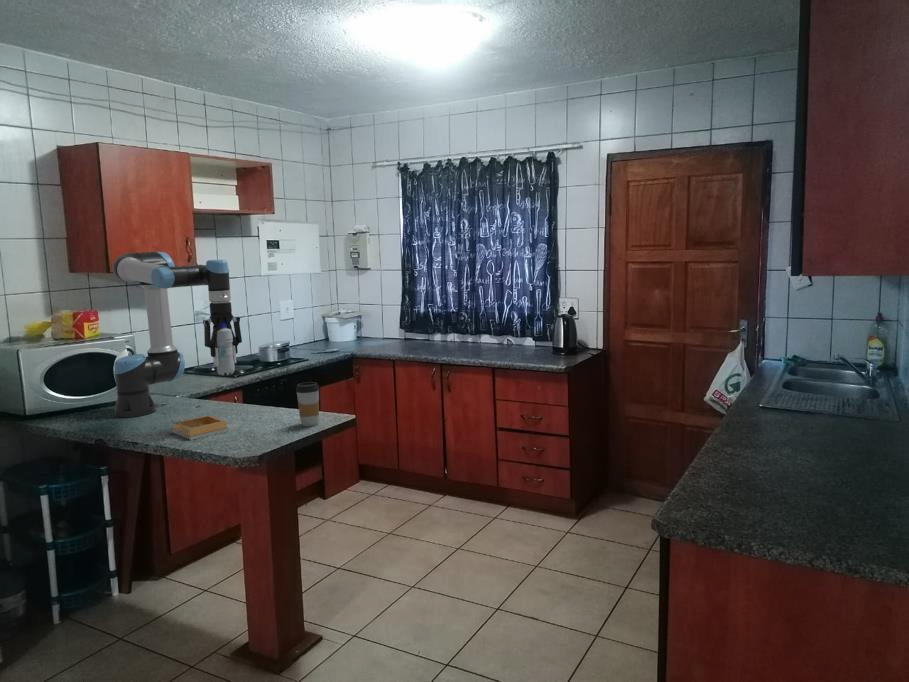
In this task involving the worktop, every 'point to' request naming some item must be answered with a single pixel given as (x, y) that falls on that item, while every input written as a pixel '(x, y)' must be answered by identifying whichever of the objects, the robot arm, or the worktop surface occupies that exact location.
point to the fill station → (200, 427)
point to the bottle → (225, 350)
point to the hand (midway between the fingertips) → (225, 363)
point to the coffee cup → (308, 403)
